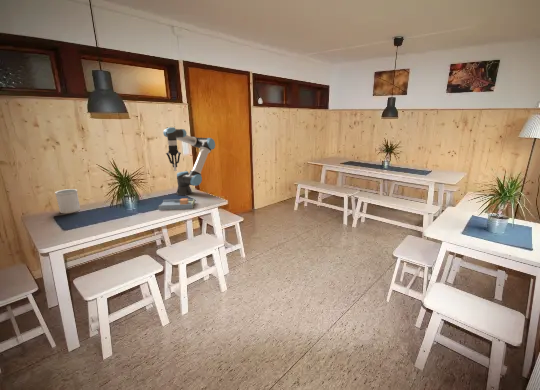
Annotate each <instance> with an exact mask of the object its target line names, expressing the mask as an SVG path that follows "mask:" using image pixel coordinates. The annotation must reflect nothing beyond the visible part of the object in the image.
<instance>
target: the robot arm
mask: <svg viewBox="0 0 540 390" xmlns="http://www.w3.org/2000/svg"><path fill="white" fill-rule="evenodd" d="M162 133H163V136H164V137H165V138H166V139H167V145H168V146H167V147H168V151H167V152H166V153H165V155H166V156H167V158H168V161H169V163H170V164H172V168H173V171H174V172H176V171H177V168H178V164H179V163H180V157H181V155H182V153H181V152H179V149H178V142H177V141H180V142H184V143H186V144H189V145H190V146H192V147H194V148H196V149H197V148H198V149H199V153H198V155H197V157H196V160H195V162H194V165H193V167H192V169H191V170H190V171H187V170H185V171H180V172H179V171H178V172H176V181H177V189H176V195H178V196H189V195H191V194H192V193H193V191H192V188H191V186H192V187H193V186H199V185H201V183H202V182H203V177H202V171H203V168H204V165H205V163H206V160H207V159H208V155H209V153H211V152H212V150H214V149H215V148H216V143H215V139H213V138H212V137H198V136H196V137H195V136H190V135H188V134H187V131H186V129H182V128H176V127H173V126H172V127H171V126H170V127H167V128H165V129H163V132H162Z"/></svg>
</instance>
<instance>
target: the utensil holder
mask: <svg viewBox="0 0 540 390" xmlns="http://www.w3.org/2000/svg"><path fill="white" fill-rule="evenodd" d="M54 194H55V197H56V201H57V205H58V209H59V212H60V213H61V214H72V213H76V212H78V211H81V205H80V201H79V200H80V199H79V195H78V189H76V188H68V189H60V190H57V191H55V192H54Z"/></svg>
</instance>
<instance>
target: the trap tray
mask: <svg viewBox="0 0 540 390" xmlns="http://www.w3.org/2000/svg"><path fill="white" fill-rule="evenodd" d="M180 199H181V198H180ZM180 199H163V200H162V203H160V204H159V205H158V210H159V211H162V210H163V211H165V210H166V211H167V210H170V209H171V210H190V209H191V210H193V208H194V206H195V203H196V200H195V198H188V204H182V205H180Z"/></svg>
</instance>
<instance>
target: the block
mask: <svg viewBox="0 0 540 390" xmlns="http://www.w3.org/2000/svg"><path fill="white" fill-rule="evenodd" d="M188 199H189V198H188V197H187V198H180V205H182V204H188Z"/></svg>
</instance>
